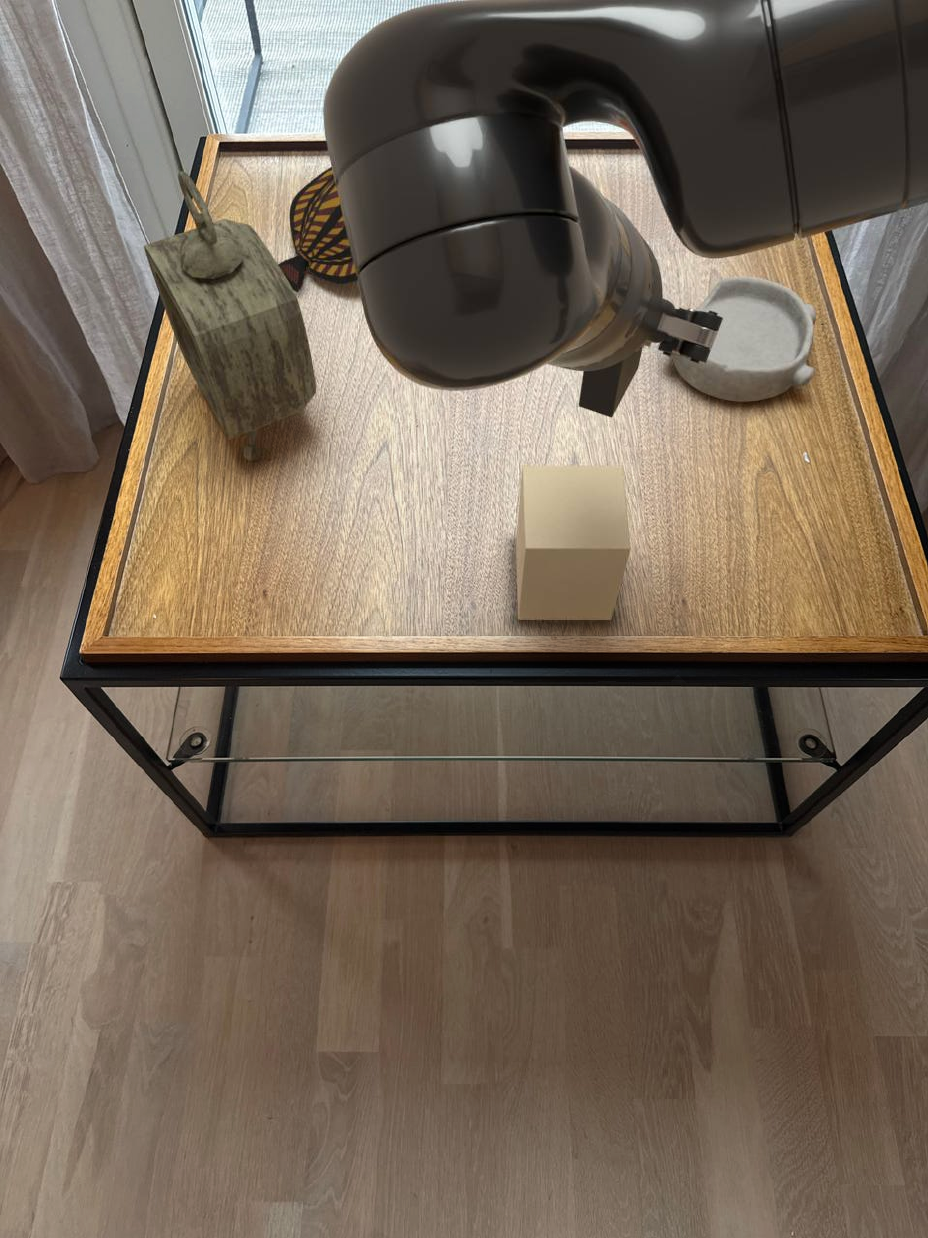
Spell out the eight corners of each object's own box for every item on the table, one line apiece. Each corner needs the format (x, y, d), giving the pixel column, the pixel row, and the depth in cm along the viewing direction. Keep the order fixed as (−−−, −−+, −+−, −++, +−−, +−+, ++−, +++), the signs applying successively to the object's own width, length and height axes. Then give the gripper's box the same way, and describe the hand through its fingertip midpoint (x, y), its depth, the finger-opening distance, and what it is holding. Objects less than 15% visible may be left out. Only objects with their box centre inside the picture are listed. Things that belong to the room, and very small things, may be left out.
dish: (649, 383, 92) (658, 346, 88) (691, 296, 99) (701, 257, 94) (790, 429, 89) (807, 392, 85) (824, 336, 96) (841, 297, 91)
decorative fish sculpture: (406, 309, 98) (400, 213, 88) (265, 284, 100) (242, 187, 90) (440, 225, 104) (438, 127, 94) (307, 203, 106) (291, 105, 96)
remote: (638, 368, 63) (659, 270, 56) (611, 418, 60) (629, 323, 53) (603, 356, 63) (619, 258, 56) (575, 405, 61) (589, 310, 54)
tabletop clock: (190, 379, 93) (106, 146, 71) (273, 348, 95) (216, 113, 73) (244, 479, 87) (170, 257, 65) (331, 444, 89) (288, 217, 67)
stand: (604, 543, 83) (622, 465, 73) (611, 620, 79) (631, 548, 69) (515, 543, 83) (522, 465, 73) (518, 620, 79) (525, 548, 69)
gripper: (746, 244, 41) (754, 294, 57) (462, 161, 44) (546, 230, 60) (682, 410, 43) (708, 412, 59) (417, 319, 46) (510, 345, 62)
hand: (626, 320), depth 59 cm, fingers closed on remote, 2 cm apart
